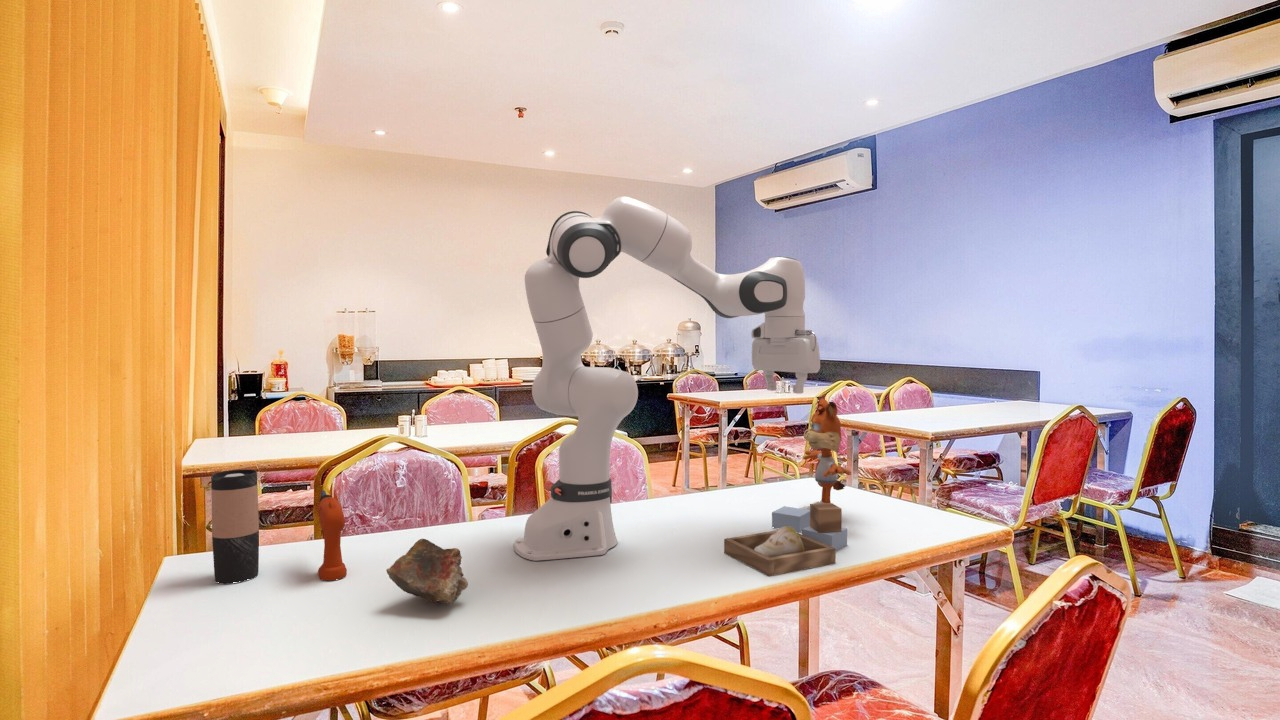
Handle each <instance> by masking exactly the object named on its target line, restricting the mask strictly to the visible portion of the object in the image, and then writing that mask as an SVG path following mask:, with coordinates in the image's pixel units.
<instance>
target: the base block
mask: <svg viewBox="0 0 1280 720" xmlns="http://www.w3.org/2000/svg"><path fill="white" fill-rule="evenodd" d="M801 535H804V536H806V537H809V538H811V539H814V540H816V541H819V542H821V543H824V544H826V545H829V546H831V547H834V548H836V552H837V551H839V550H841V549H844V548H845V547H847V546H848V528H847V527H842V530H841V532H830V533H818V532H817V531H816V530H814V529H813V528H811V527H810V526H809V527H806V528H804V529H802V532H801Z"/></svg>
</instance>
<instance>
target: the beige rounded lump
mask: <svg viewBox="0 0 1280 720" xmlns="http://www.w3.org/2000/svg"><path fill="white" fill-rule="evenodd" d="M774 531H775V532H774V533H773V534H772V535H771V536H770V538H769V539H768V540H767V541H766V542H765V543H763V544H761V545H759V546H757V547H755V549H754V550H755V551H757V552H759V553H761V554H763V555H765V556H768V557H770V558H771V557H777V556H782V555H788V554H793V553H799V552H805V551H804V546H803V543H802V540H801V538H800V536H799V535H798V532H796V531H795V530H794V529H793V528H792V527H790V526H784V527H781V528H779V529H776V530H774Z"/></svg>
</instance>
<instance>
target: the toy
mask: <svg viewBox="0 0 1280 720" xmlns="http://www.w3.org/2000/svg"><path fill="white" fill-rule="evenodd" d="M815 398H816V399H817V400H818V401H819V403H818V408H817V411H816V412H814V413H813V414H812V415H811V418H810V424H809V425H810V426H809V427H810V428H807V429H805V431H804V433H803V438H804V440H806V441H807V442H808V445H809V446H810V447H811V449H812V451H810V450H806V451H805V453H804V454H805V455H804V456H803V458H802V459H803V460H804V461H805V460H808V459H813V460H818V461H817V463H816V466H815V471H814V472H815V479H814V480H815V482H817V485H819V487H821V488H822V489H821V499H820V501H816V502H814V503H812V504H821V503H832V502H831V491H832V488H833V490H835V491H841V490H844V489H845V487H846V485H845V484H843V483H842V481H841V480H838V479H837V474H839V475H841V476H843V475H844V474H846V475H847V476H850V475H851V474H852V472H851V470H849V469H848V468H847V469H846V468H844V467H843V466H841V465H838V464H837V463H836V460H835V458H834V457H833V456H832V455H831V452H832V451H833V452H835V453H836V454H839V448H840V445H841V442H842V431H841V427H842V425H841V421H840V418H839V416H838V407H837V404H836V403H835V402H834V401H829V402H828V401H827V400H826V399H825V398H823V397H821V396H815ZM798 508H799V509H806V510H810V505H807V506H803V507H802V506H801V507H798Z"/></svg>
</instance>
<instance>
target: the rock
mask: <svg viewBox="0 0 1280 720" xmlns="http://www.w3.org/2000/svg"><path fill="white" fill-rule="evenodd" d="M462 558H463V556H462V555H461V551H460V549H459V548H457V547H453V548H445V549H444V548H442V547H440V546H438V545H436V543H433V542H432V541H430V540H428V539H426V538H420V539H418V540H417V541H415V543H414V544H413V545H412V546H411V547H410V548H409V550H408V551H407V552H406V553H405V554H404V555H401V556H400V557H399V558H397V559H396V560H395V561H394V562H393V564H392V565H391V566H390V567H388V568H386V573H387V575H388V577H389V579H390V580H391V581H392V582H393V583H394V584H395V585H396V586H397V587H398V588H399V589H401V590H402V591H403V592H404V593H406V594H409V595H412V596H415V597H418V598H422V599H425V600H428V601H429V600H430V602H433V603H437V602H439V603H447V604H452V603H454V602H455V601H456V600H457V599H458V598H459V597H460V596H461V594H462V592H463V591H465V590H466V589H467V588H468V585H469V581H468V580H467V579H468V578H465V577H464V576H465V575H464V572H463V569H462V567H461V564H462Z"/></svg>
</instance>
